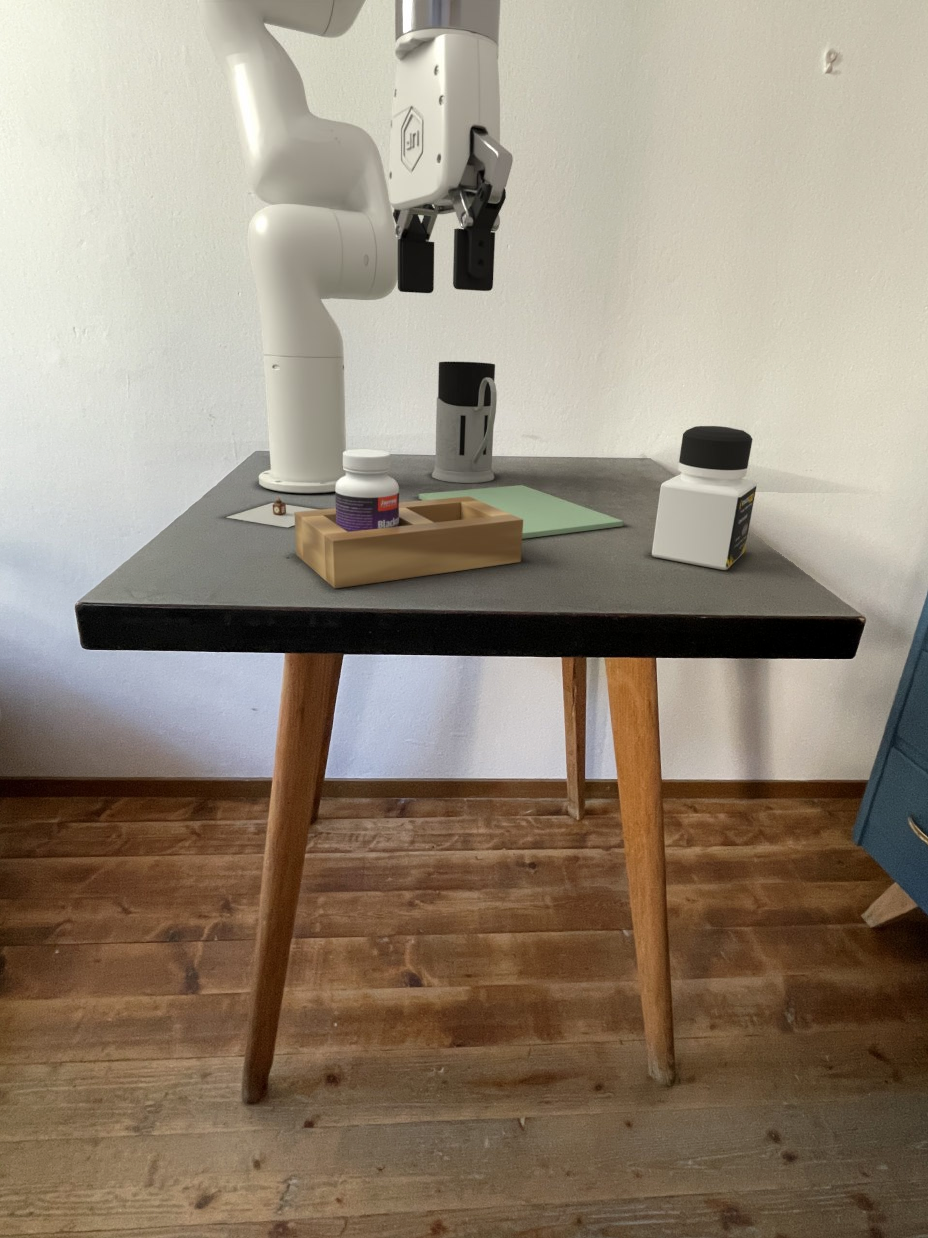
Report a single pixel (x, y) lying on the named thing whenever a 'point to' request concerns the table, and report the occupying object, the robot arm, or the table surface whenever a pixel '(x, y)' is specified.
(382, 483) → the pill bottle
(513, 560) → the holder
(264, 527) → the table surface
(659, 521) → the medicine bottle
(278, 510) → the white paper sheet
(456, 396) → the glass holder
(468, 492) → the mat
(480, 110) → the robot arm
